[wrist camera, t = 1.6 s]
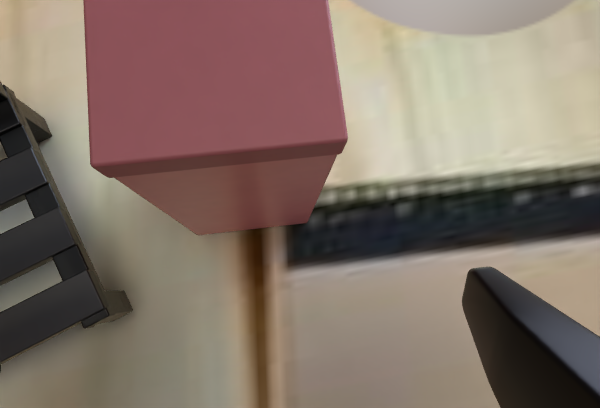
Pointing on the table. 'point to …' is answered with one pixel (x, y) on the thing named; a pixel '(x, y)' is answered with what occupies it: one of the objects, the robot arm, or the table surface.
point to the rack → (43, 242)
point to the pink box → (215, 106)
